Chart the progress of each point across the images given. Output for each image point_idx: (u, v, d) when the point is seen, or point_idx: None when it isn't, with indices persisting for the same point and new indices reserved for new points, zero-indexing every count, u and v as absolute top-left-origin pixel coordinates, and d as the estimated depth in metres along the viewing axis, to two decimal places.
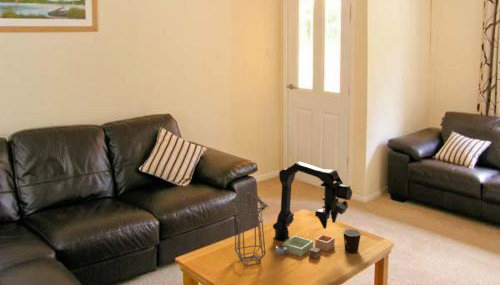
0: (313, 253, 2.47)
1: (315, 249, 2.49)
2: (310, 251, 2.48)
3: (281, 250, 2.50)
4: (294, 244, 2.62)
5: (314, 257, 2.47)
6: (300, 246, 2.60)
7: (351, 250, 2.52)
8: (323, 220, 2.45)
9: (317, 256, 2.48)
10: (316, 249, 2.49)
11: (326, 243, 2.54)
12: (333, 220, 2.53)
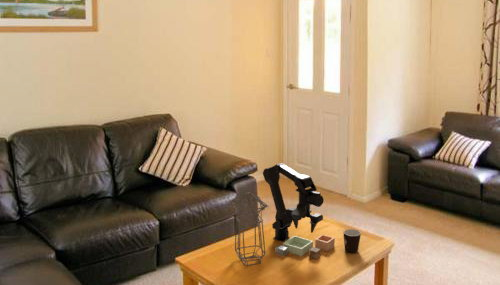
0: (313, 253, 2.47)
1: (315, 249, 2.49)
2: (310, 251, 2.48)
3: (281, 250, 2.50)
4: (294, 244, 2.62)
5: (314, 257, 2.47)
6: (300, 246, 2.60)
7: (351, 250, 2.52)
8: None
9: (317, 256, 2.48)
10: (316, 249, 2.49)
11: (326, 243, 2.54)
12: None
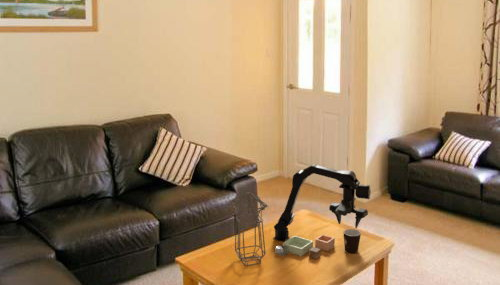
0: (313, 253, 2.47)
1: (315, 249, 2.49)
2: (310, 251, 2.48)
3: (281, 250, 2.50)
4: (294, 244, 2.62)
5: (314, 257, 2.47)
6: (300, 246, 2.60)
7: (351, 250, 2.52)
8: None
9: (317, 256, 2.48)
10: (316, 249, 2.49)
11: (326, 243, 2.54)
12: None
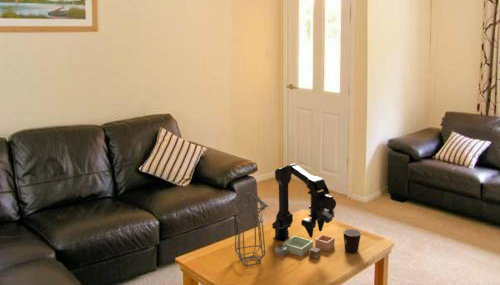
0: (313, 253, 2.47)
1: (315, 249, 2.49)
2: (310, 251, 2.48)
3: (281, 250, 2.50)
4: (294, 244, 2.62)
5: (314, 257, 2.47)
6: (300, 246, 2.60)
7: (351, 250, 2.52)
8: (309, 229, 2.41)
9: (317, 256, 2.48)
10: (316, 249, 2.49)
11: (326, 243, 2.54)
12: (320, 229, 2.50)
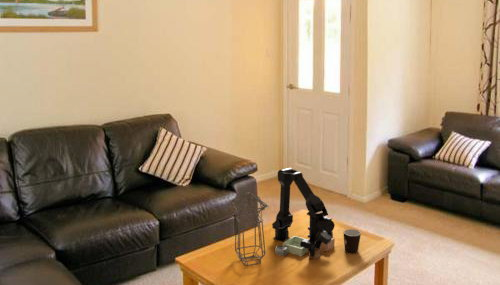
0: None
1: (315, 249, 2.49)
2: None
3: (281, 250, 2.50)
4: (294, 244, 2.62)
5: (314, 257, 2.47)
6: (300, 246, 2.60)
7: (351, 250, 2.52)
8: (311, 248, 2.46)
9: (317, 256, 2.48)
10: (316, 249, 2.49)
11: None
12: None
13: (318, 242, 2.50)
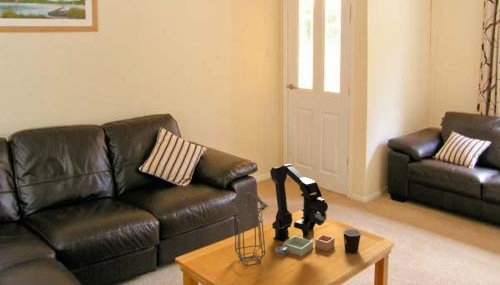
0: None
1: (309, 230, 2.50)
2: None
3: (281, 250, 2.50)
4: (294, 244, 2.62)
5: (308, 238, 2.48)
6: (300, 246, 2.60)
7: (351, 250, 2.52)
8: (304, 229, 2.47)
9: (311, 237, 2.49)
10: (310, 230, 2.50)
11: (326, 243, 2.54)
12: None
13: (312, 223, 2.51)
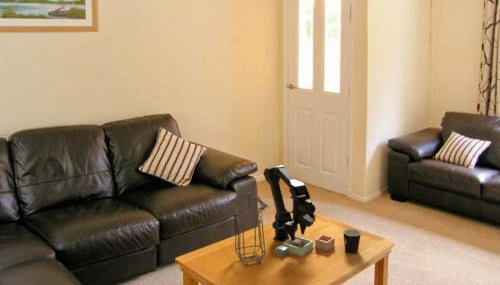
0: (296, 244, 2.55)
1: (298, 241, 2.57)
2: (293, 243, 2.56)
3: (281, 250, 2.50)
4: None
5: None
6: None
7: (351, 250, 2.52)
8: (291, 232, 2.51)
9: (300, 247, 2.56)
10: (299, 241, 2.57)
11: (326, 243, 2.54)
12: (302, 232, 2.59)
13: (304, 224, 2.58)
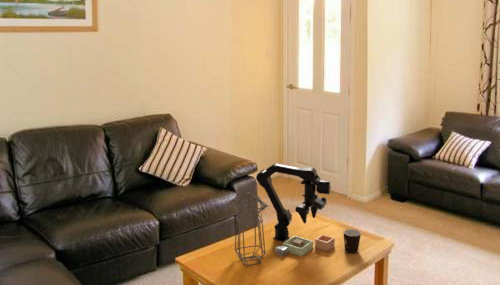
0: (296, 244, 2.55)
1: (298, 241, 2.57)
2: (293, 243, 2.56)
3: (281, 250, 2.50)
4: None
5: None
6: None
7: (351, 250, 2.52)
8: (303, 215, 2.58)
9: (300, 247, 2.56)
10: (299, 241, 2.57)
11: (326, 243, 2.54)
12: (313, 215, 2.66)
13: (315, 207, 2.65)
